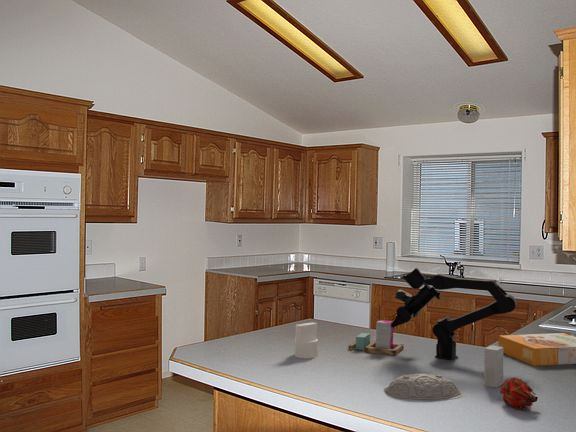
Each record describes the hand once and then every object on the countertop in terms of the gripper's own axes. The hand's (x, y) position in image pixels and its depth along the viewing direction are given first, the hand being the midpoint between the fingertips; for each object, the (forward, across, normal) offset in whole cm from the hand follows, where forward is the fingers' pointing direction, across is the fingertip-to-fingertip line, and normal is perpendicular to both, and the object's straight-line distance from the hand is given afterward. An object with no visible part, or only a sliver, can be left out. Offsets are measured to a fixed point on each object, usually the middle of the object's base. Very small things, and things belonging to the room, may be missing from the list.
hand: (394, 324), depth 223 cm
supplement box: (+10, 0, +4) cm, 11 cm away
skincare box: (-20, +29, +36) cm, 50 cm away
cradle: (+13, 0, +2) cm, 13 cm away
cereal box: (-25, -12, +37) cm, 46 cm away
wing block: (+16, 0, -2) cm, 17 cm away
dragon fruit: (-26, +48, +42) cm, 69 cm away
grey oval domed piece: (-6, +47, +23) cm, 53 cm away
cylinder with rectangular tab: (+28, +22, -13) cm, 38 cm away
